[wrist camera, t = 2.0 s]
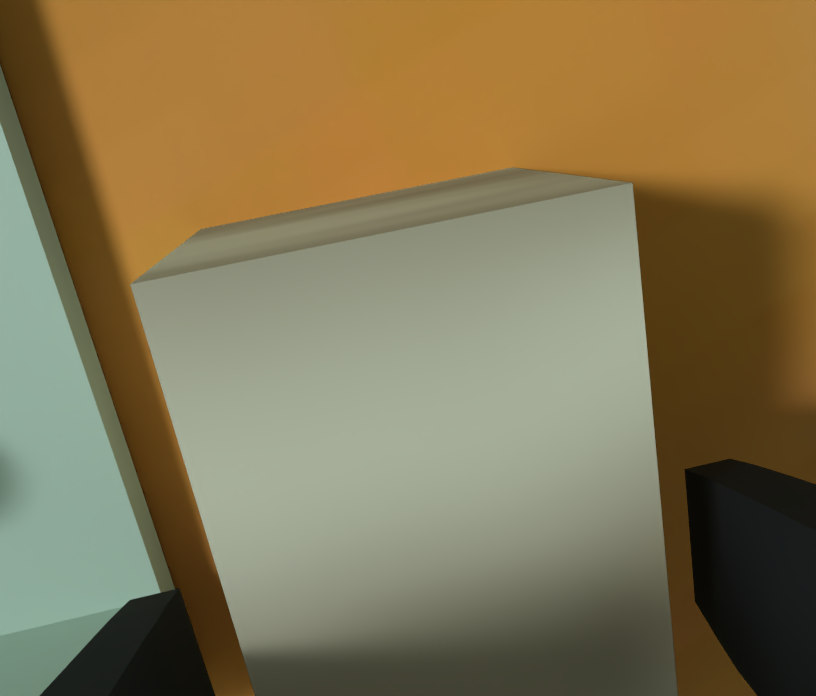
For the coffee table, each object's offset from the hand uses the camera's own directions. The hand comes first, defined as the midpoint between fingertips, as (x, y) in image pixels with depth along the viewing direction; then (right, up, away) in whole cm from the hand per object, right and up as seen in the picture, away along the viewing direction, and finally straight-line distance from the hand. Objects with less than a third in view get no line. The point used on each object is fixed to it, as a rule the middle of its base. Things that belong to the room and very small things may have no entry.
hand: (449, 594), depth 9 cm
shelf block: (0, +1, +2) cm, 3 cm away
